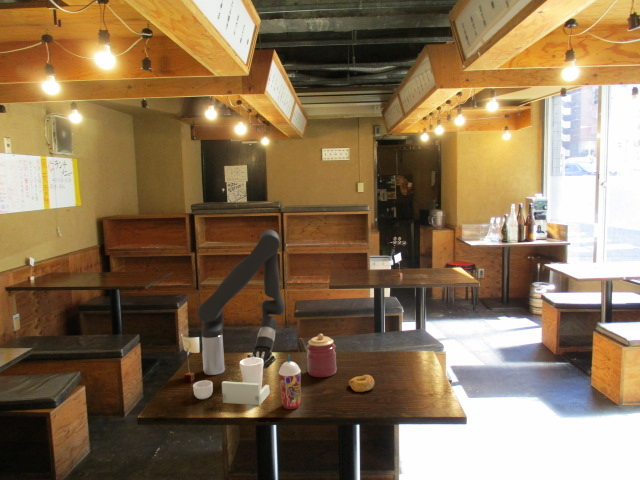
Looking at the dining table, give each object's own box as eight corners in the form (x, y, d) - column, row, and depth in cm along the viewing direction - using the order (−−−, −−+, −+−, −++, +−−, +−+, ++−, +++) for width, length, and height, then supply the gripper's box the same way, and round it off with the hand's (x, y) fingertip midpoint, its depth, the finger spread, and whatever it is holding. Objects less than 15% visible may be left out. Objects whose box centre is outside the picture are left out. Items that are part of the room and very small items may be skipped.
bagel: (358, 380, 206) (358, 369, 206) (379, 387, 199) (379, 376, 198) (343, 388, 199) (342, 377, 199) (364, 395, 192) (364, 384, 191)
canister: (337, 377, 210) (335, 337, 209) (307, 378, 211) (305, 338, 209) (336, 366, 223) (334, 329, 222) (308, 367, 224) (306, 330, 222)
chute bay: (234, 391, 200) (233, 372, 200) (269, 393, 197) (268, 374, 196) (223, 402, 190) (221, 382, 189) (259, 405, 186) (258, 385, 185)
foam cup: (268, 388, 202) (266, 357, 201) (260, 397, 193) (258, 365, 192) (246, 387, 204) (245, 356, 203) (237, 396, 195) (235, 364, 194)
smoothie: (299, 411, 179) (296, 358, 177) (277, 410, 181) (274, 358, 179) (304, 401, 187) (302, 351, 185) (283, 400, 189) (281, 350, 187)
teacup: (212, 400, 193) (211, 387, 192) (192, 401, 192) (191, 388, 191) (215, 390, 203) (214, 377, 202) (196, 391, 202) (195, 379, 201)
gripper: (248, 335, 213) (239, 372, 202) (277, 336, 209) (269, 374, 199) (254, 343, 218) (245, 380, 208) (282, 344, 215) (274, 381, 204)
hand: (256, 377), depth 203 cm, fingers closed
